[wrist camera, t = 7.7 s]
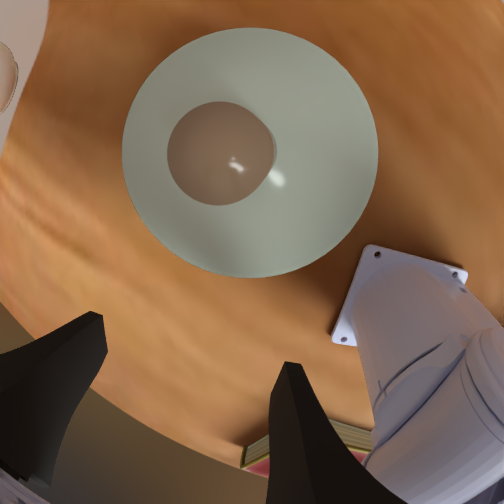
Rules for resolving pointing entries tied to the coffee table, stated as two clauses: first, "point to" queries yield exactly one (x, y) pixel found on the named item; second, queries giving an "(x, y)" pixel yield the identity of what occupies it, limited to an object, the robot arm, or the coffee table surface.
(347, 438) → the hardcover book
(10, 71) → the lidded jar
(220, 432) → the coffee table surface
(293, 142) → the lid
